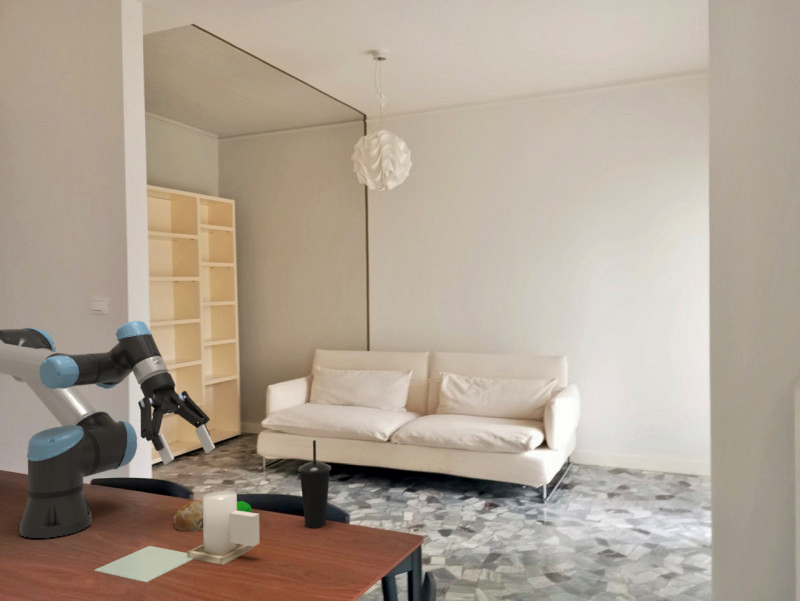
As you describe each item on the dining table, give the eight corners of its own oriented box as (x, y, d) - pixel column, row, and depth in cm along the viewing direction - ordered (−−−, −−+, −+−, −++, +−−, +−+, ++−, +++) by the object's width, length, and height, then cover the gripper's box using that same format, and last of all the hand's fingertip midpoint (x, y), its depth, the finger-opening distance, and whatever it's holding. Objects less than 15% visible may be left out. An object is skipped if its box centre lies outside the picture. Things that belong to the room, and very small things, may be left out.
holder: (187, 560, 132) (187, 551, 132) (218, 544, 141) (218, 536, 141) (223, 567, 128) (223, 558, 128) (253, 550, 137) (252, 542, 137)
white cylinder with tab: (196, 556, 133) (195, 498, 133) (218, 545, 139) (218, 489, 139) (245, 565, 128) (245, 505, 128) (266, 553, 134) (266, 495, 134)
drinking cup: (325, 531, 148) (324, 444, 149) (294, 529, 150) (293, 443, 150) (335, 520, 156) (334, 437, 156) (305, 518, 157) (304, 436, 158)
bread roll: (187, 551, 147) (197, 522, 145) (161, 525, 152) (170, 496, 150) (221, 538, 155) (230, 510, 154) (194, 513, 160) (203, 486, 159)
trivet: (94, 573, 126) (94, 569, 126) (149, 548, 139) (149, 545, 139) (146, 585, 120) (146, 581, 120) (199, 558, 133) (199, 555, 133)
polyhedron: (227, 521, 156) (226, 502, 156) (245, 517, 160) (245, 497, 160) (236, 526, 152) (236, 506, 153) (255, 522, 156) (255, 502, 156)
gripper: (122, 375, 145) (160, 459, 140) (200, 367, 168) (235, 439, 162) (102, 392, 147) (139, 475, 142) (181, 382, 170) (216, 453, 165)
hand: (190, 456), depth 152 cm, fingers open, 13 cm apart
